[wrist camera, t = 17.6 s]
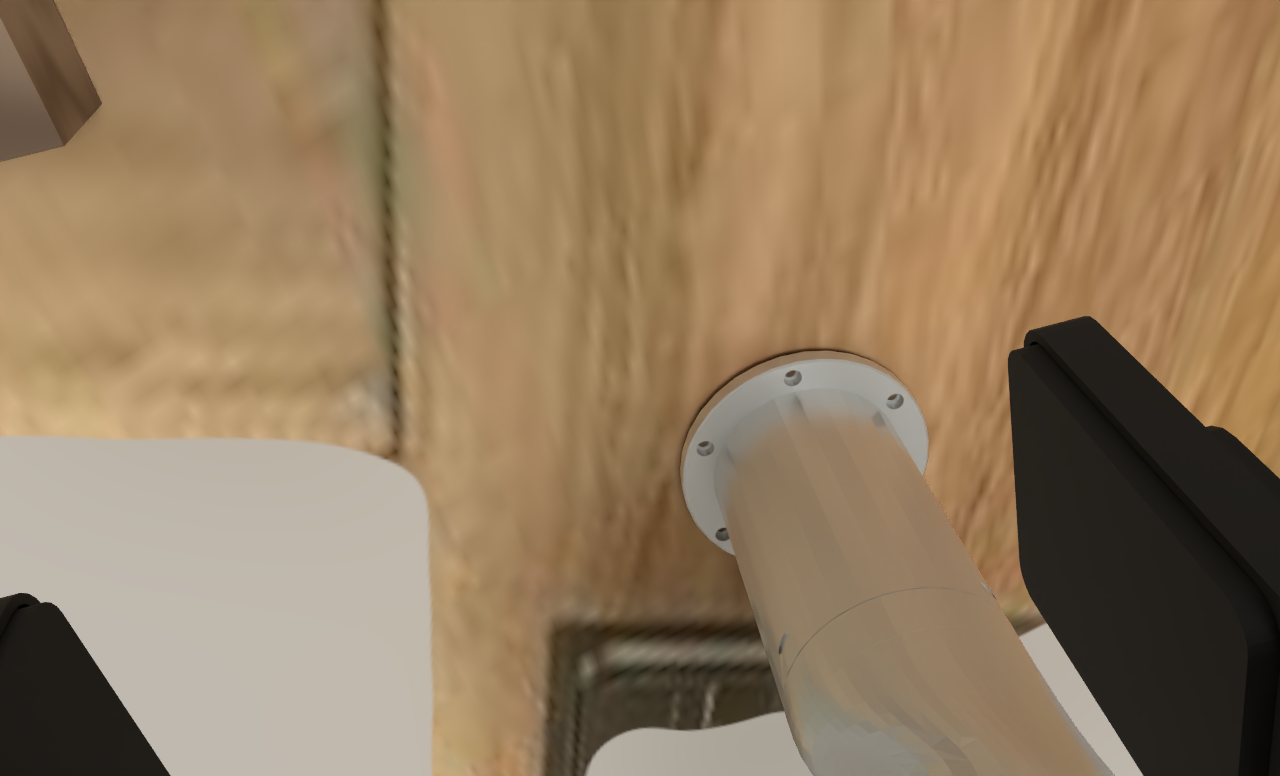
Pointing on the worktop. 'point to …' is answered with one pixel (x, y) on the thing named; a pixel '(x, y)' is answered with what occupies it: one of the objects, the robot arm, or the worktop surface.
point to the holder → (39, 80)
